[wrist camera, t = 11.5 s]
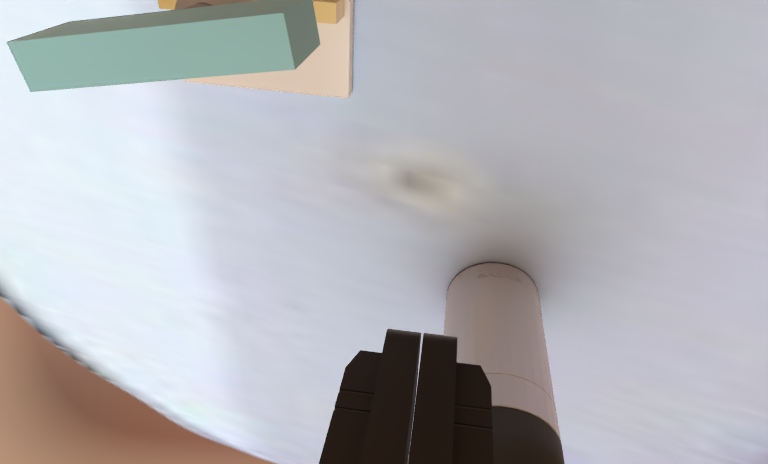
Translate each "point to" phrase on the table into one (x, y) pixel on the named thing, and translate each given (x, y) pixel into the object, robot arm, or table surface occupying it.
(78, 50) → the pale green block
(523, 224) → the table surface
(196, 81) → the post base
